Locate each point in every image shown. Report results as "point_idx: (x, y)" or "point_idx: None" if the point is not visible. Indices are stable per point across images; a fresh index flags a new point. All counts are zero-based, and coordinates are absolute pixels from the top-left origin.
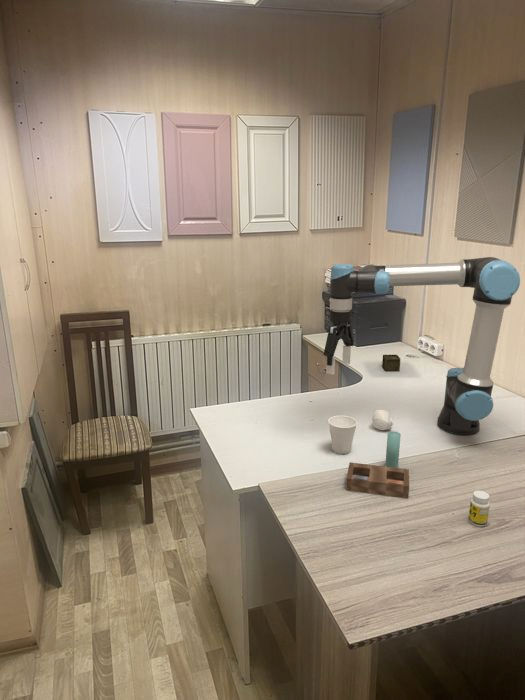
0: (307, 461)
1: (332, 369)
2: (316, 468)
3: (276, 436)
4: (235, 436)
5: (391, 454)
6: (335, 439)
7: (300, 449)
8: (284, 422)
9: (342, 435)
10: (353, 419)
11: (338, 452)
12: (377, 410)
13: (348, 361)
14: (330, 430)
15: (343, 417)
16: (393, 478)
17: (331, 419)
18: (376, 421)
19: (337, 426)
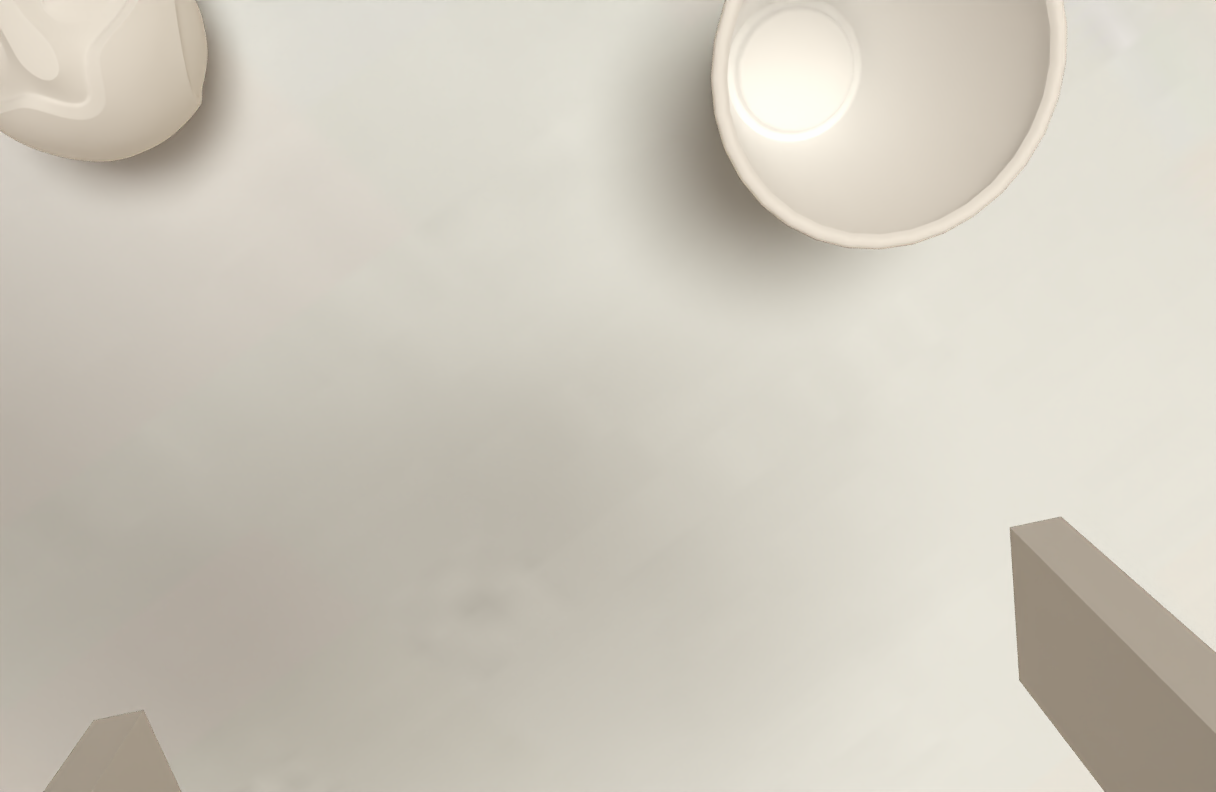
0: (1127, 165)
1: (1137, 610)
2: (1190, 33)
3: (913, 598)
4: (1086, 774)
5: None
6: (949, 69)
7: (985, 336)
8: (676, 711)
9: None
10: (730, 17)
11: (877, 45)
12: (64, 109)
13: (123, 775)
14: (965, 148)
15: (742, 159)
16: None
17: (872, 233)
18: (196, 50)
19: (1061, 25)
